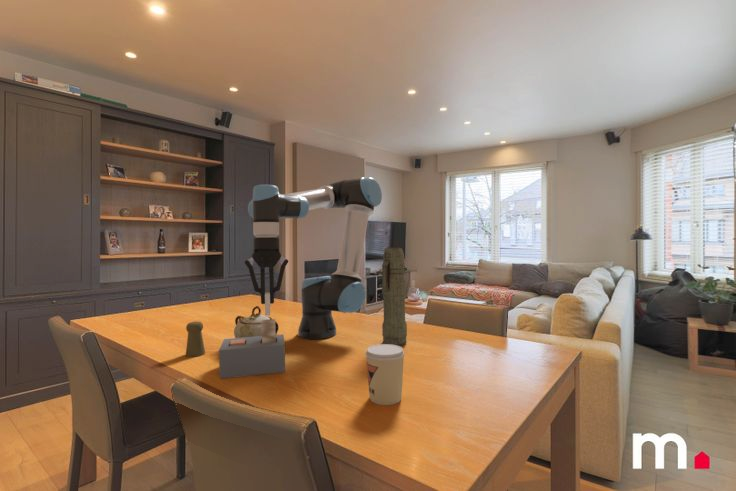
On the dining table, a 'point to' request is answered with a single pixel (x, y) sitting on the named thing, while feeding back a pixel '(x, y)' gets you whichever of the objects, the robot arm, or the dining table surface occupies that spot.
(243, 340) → the terracotta peg
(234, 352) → the socket block
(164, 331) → the dining table surface
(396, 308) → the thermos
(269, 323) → the cream peg
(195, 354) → the green pepper mill
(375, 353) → the cream lidded canister
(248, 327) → the sugar bowl
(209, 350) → the dining table surface
